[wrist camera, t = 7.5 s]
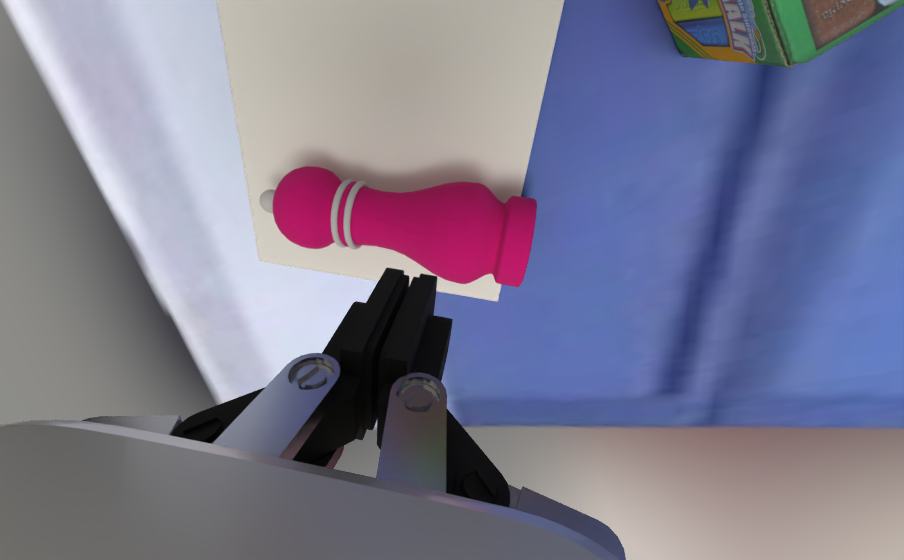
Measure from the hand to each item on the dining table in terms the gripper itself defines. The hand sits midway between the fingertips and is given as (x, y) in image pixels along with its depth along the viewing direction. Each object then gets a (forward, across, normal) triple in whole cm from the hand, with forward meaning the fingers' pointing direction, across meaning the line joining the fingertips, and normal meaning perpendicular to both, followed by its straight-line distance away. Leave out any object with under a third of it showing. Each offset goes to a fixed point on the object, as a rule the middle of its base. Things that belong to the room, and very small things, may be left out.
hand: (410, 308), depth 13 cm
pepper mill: (+15, -5, +4) cm, 16 cm away
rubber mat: (+19, +7, +1) cm, 20 cm away
